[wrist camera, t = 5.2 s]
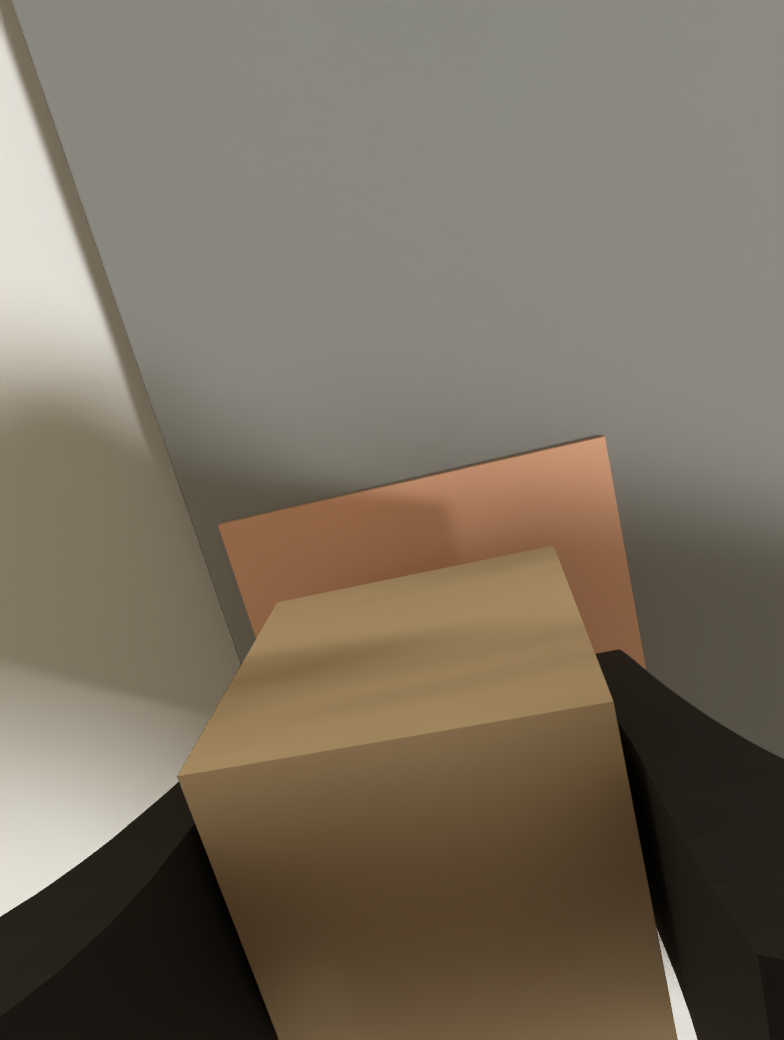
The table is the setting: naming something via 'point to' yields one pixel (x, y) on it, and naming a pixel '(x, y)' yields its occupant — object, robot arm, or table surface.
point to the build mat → (457, 298)
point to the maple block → (432, 816)
